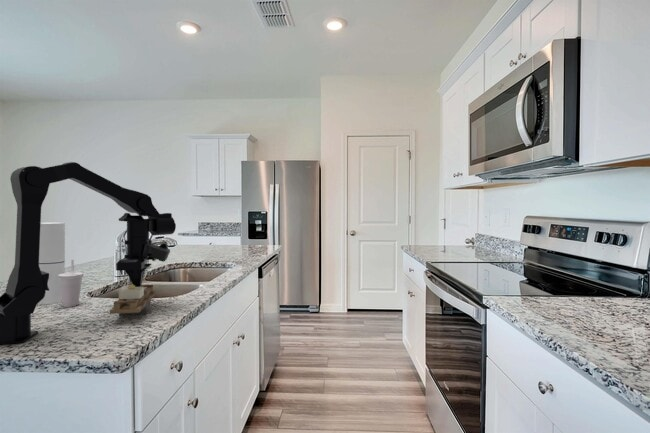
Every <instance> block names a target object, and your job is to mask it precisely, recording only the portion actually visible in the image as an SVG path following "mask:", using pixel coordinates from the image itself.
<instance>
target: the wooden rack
mask: <svg viewBox="0 0 650 433" xmlns="http://www.w3.org/2000/svg"><path fill="white" fill-rule="evenodd" d="M141 287H144V295H143V296H142V297H141V298H140V299H134V300H129V301H126V299H119V298H118V300H115V301H113V307H112V308H110V309H109V315H115V314H118V317H132V316H133V317H134V316H147V315H148V314H149V313H150V312H151V310H152V307H151V304H152V302H151V301H152V300H153V298H154V297H155V296H156V295H157V290H154V284H141ZM126 303H130V304H127V305H126Z"/></svg>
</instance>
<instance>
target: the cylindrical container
mask: <svg viewBox="0 0 650 433" xmlns="http://www.w3.org/2000/svg"><path fill="white" fill-rule="evenodd" d="M65 230H66V222H41V225H40V248H39V267H40V270H41V271H43V272H46V273H49V279H48V288H49V291H47V290H46V293H45V297H44V298H43V299H42V300H41V301H40V302H39V303H37V305H52V304H53V305H54V304H57V303H58V302H59V303H61V302H62V303H63V301H62V294H61V288H60V281H59V279H58V275H59V274H63V273H66V271H65V270H66V268H65V267H66V266H65V264H66V258H65V257H66V256H65V255H66V251H65V250H66V249H65V248H66V247H65V246H66V244H65V243H66V241H65V240H66V238H65V236H66V231H65Z"/></svg>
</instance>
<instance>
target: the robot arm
mask: <svg viewBox="0 0 650 433" xmlns="http://www.w3.org/2000/svg"><path fill="white" fill-rule="evenodd" d="M9 179H10V185H11V190H12V193H13V197H14V200H15V202H16V206H17V207H16V208H17V209H16V228H15V229H16V230H15V252H14V253H15V254H14V266H13V268H12V271H11V272H10V275H9V276H8V280H7V284H6V286H5V292H3V293H2V294H1V295H0V345H6V344H7V345H8V344H9V345H11V344H21V343H25V342H26V341H27V340H30V339H31V338H32V337H34V336H36V335H37V334H38V333H39V330H32V328H31V327H32V326H31V325H32V323H31V322H32V318H31V317H32V314H34V312H35V310H36V308H37V305H38V304H37V303H39V302H40V301H41V300H42V299H43V298H44V297H45V293H46V290H47V291H49V288H48V279H49V273H46V272H43V271H41V270H40V267H39V248H40V225H41V223H42V206H43V204H44V201H45V199H46V197H47V194H48V192H49V187H50V185H51V184H54V183H57V182H62V181H66V180H71V181H73V182H74V183H75V182H76V183H78V184H80V185H82V186H83V187H86V188H87V189H90V190H92V191H95V192H96V193H99V194H101V195H103V196H104V197H107V198H108V199H111V200H112V201H114V202H115V203H116V204H117V205H118V206H119V207H120V208H122V209H124V210H125V211H126V212H125V213H124V214H123V215H122V216H120V217H119V218H118V221H119V222H126V240H124V245H126V254H124V258H120V259H119V260H118V261H117V262H116V264H115V271H119V272H120V271H121V272H122V271H124V272H125V273H126V275H127V276H128V278H129V279H130V282H131V283H132V285H135V287H141V285H143V280H144V276H145V273H146V270H147V269H148V268H149V267H151V266H152V263H147V261H153V262H154V261H156V260H158V261H159V262H166V261H167V260H168V258H169V254H170V253H171V249H170V248H169V246H168V244H167V243H164V242H163V243H161V244H160V245H157V244H156V245H155V244H153V242H152V241H153V240H152V239H151V238H150V234H151V235H152V236H162V235H163V236H164V235H165V236H167V235H173V234H174V233H175V231H176V222H175V219H174V217H173V213H172V212H164V213H160V212H159V210H157V208H156V207H155V205H154V204H153V201H152V198H151V196H150V195H148V194H147V193H144V192H141V191H137V190H134V189H129V188H126V187H123V186H120V185H119V184H117V183H116V182H113V181H111V180H109V179H107V178H105V177H103V176H101V175H99V174H98V173H96V172H93V171H92V170H90V169H88V168H86V167H84V166H82V165H81V164H79V163H78V162H75V161H70V162H69V161H68V162H63V163H62V164H57V165H53V166H48V167H40V166H36V165H28V166H25V167H24V166H23V167H19V168H17V169H15V170H14V171H12V173H11V174H10V178H9ZM132 214H135V215H132ZM144 217H148V218H144Z"/></svg>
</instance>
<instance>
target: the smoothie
mask: <svg viewBox="0 0 650 433" xmlns="http://www.w3.org/2000/svg"><path fill="white" fill-rule="evenodd" d="M74 262H75V260H74V259H71V262H70V263H71V266H70V267H71V271H70V272H65V273H63V274H59V275H58V279H59V281H60V288H61V294H62V306H64V307H63V308H72V306H73V307H76V305H77V306H79V302H80V301H79V300H80V294H81V289H82V280H83V277H84V273H83V272H81V271H80V272H79V271H76V272H75V271H74V270H75V269H74V267H75V266H74V265H75V263H74Z"/></svg>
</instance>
